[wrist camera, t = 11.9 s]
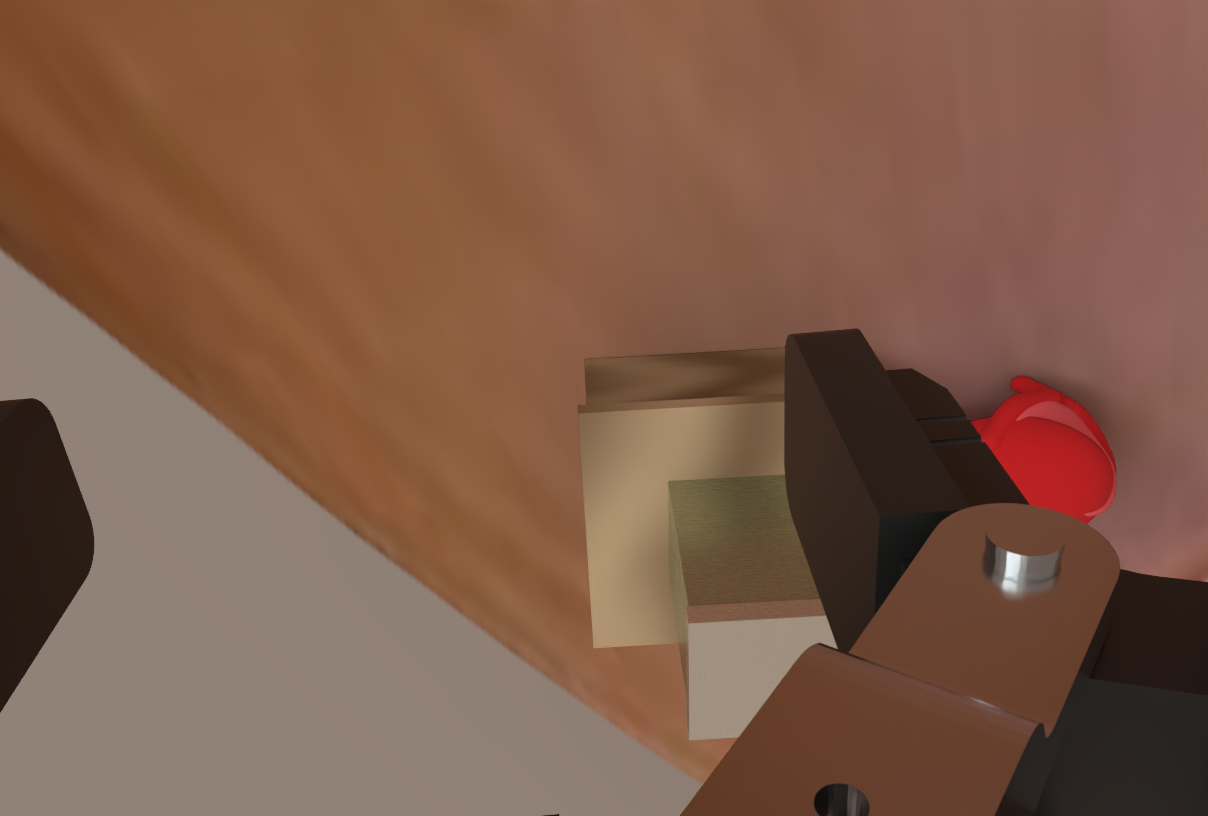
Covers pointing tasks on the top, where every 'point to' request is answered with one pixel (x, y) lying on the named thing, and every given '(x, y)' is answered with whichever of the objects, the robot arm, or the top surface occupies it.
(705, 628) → the tea tin
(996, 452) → the cap
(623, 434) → the beige flat block
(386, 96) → the top surface
